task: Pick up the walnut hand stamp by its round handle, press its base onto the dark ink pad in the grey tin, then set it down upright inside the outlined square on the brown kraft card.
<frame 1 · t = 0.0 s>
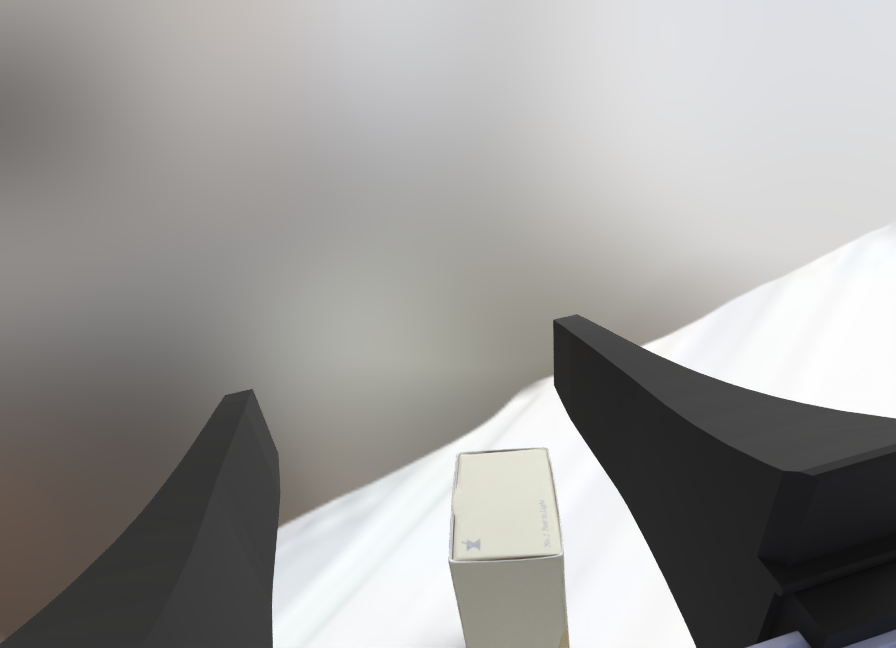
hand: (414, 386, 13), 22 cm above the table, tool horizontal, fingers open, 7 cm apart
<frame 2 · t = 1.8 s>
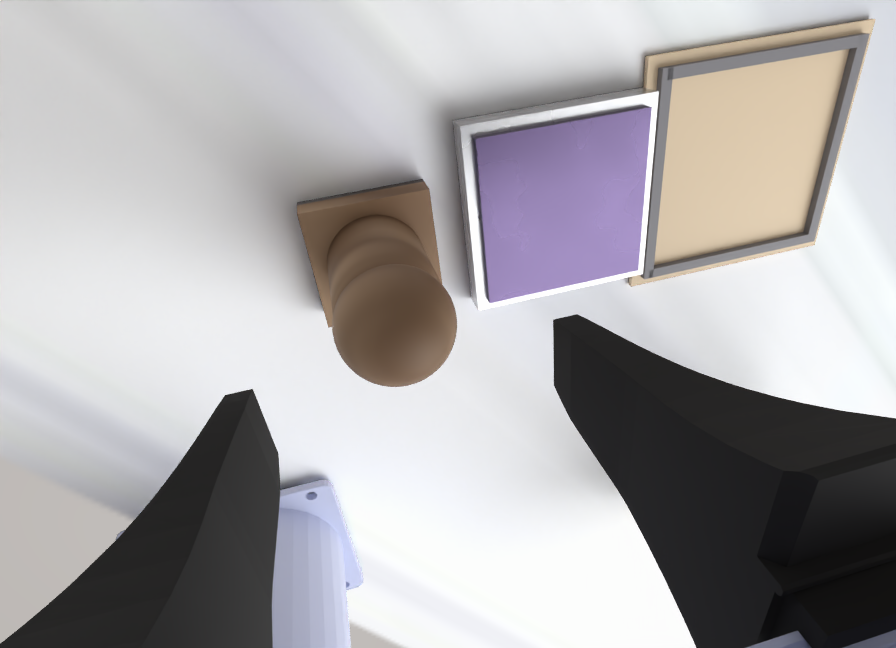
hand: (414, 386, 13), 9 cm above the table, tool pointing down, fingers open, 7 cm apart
marked card: (739, 162, 22), on the table
ink pad: (551, 200, 21), on the table
stamp: (372, 248, 20), on the table
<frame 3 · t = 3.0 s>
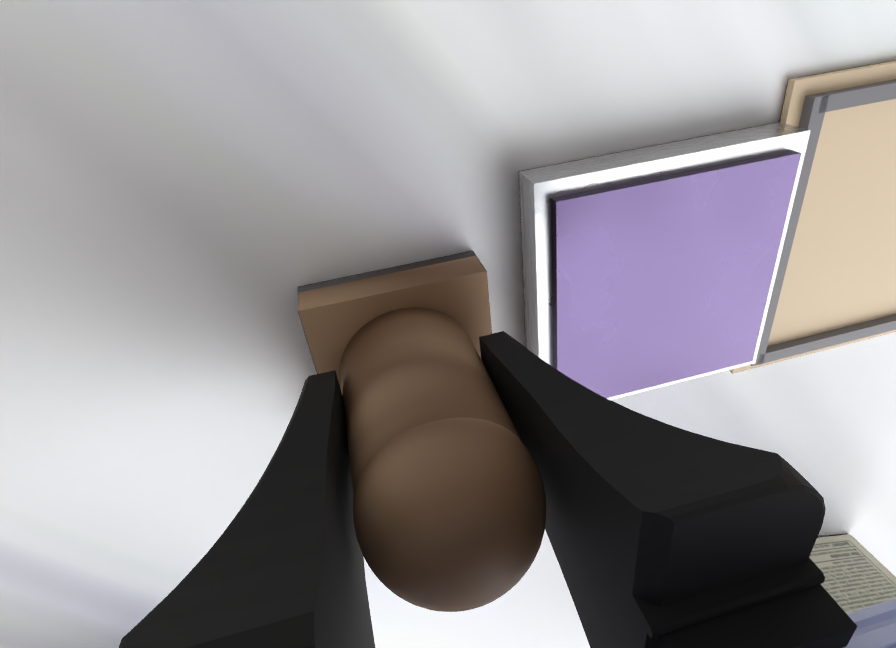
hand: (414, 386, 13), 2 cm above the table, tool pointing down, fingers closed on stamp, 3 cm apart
marked card: (887, 217, 16), on the table
ink pad: (642, 271, 15), on the table
stamp: (401, 341, 15), on the table, touching gripper
skincare box: (781, 561, 26), on the table
when the fingers open (3 cm above the table, at t = 9.0 s): stamp drops 1 cm, resting on marked card.
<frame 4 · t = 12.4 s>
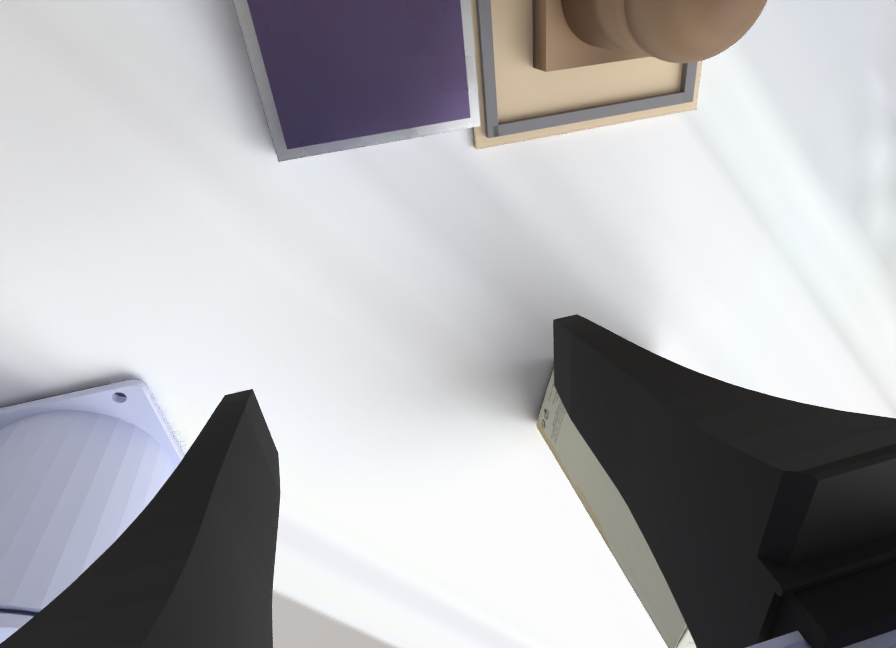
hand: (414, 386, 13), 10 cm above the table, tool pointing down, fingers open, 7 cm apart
ink pad: (358, 26, 18), on the table
skincare box: (596, 388, 29), on the table
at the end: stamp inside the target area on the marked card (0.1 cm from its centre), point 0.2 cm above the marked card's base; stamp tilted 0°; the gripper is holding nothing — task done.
